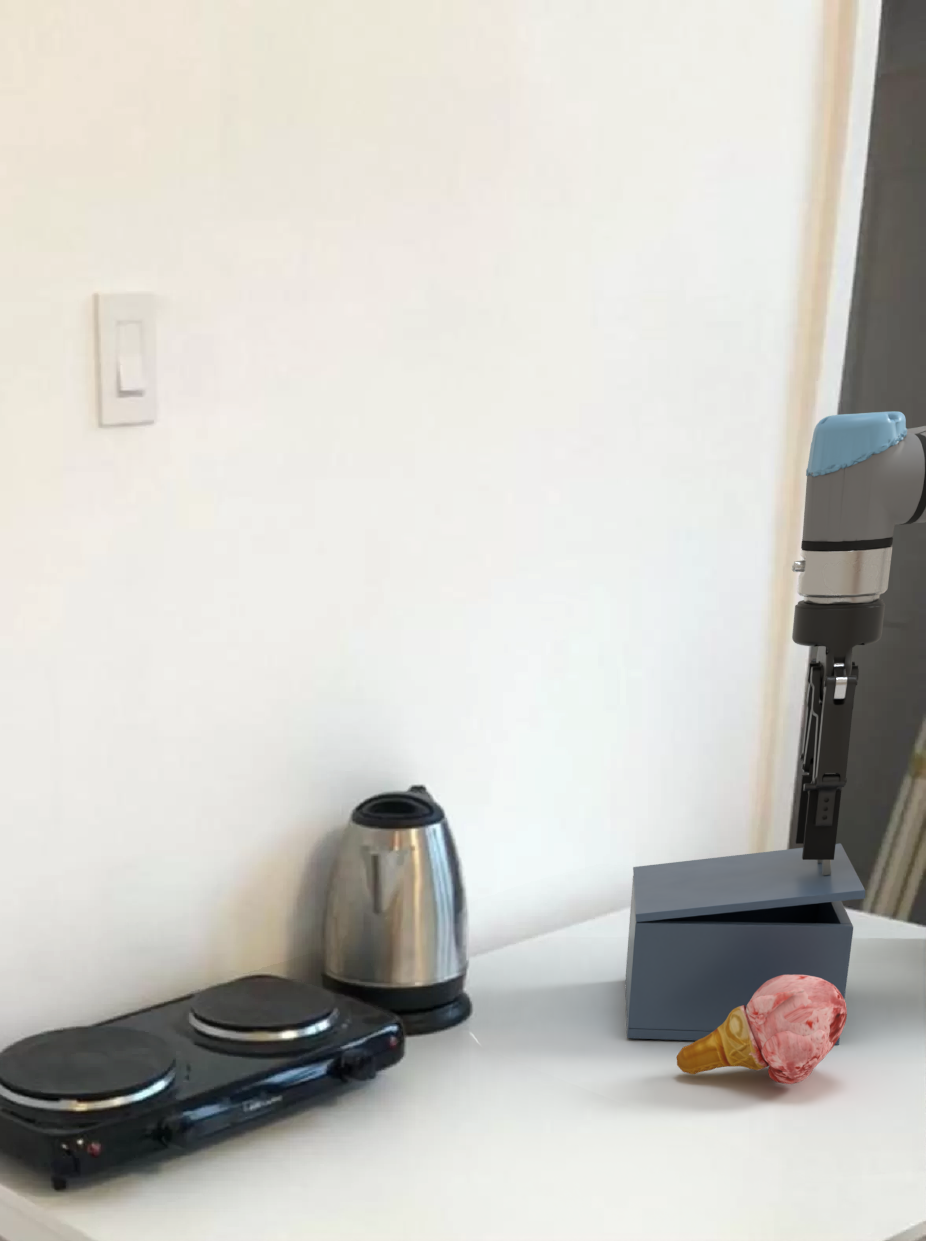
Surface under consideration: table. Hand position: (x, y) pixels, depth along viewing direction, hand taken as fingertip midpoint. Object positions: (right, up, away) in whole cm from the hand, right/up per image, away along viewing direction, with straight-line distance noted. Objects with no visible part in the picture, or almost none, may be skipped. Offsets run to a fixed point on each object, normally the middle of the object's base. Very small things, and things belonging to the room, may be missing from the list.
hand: (814, 850), depth 170 cm
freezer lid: (-6, -3, +3) cm, 7 cm away
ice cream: (-9, -23, -10) cm, 26 cm away
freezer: (-5, -15, +8) cm, 18 cm away
